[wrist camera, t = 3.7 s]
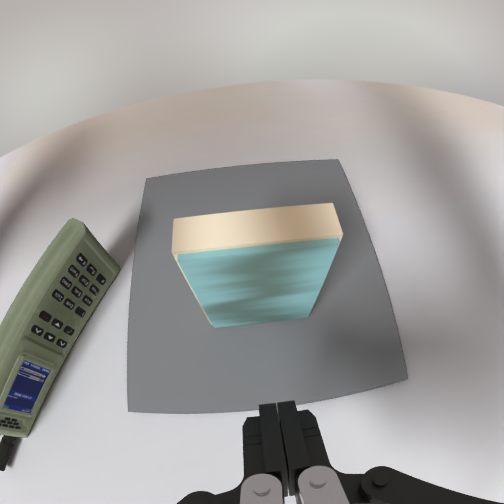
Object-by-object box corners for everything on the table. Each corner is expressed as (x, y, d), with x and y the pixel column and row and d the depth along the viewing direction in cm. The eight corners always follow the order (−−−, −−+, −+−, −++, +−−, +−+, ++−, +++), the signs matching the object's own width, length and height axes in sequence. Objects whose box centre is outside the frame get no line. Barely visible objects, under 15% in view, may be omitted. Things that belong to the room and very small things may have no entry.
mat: (131, 411, 17) (128, 411, 17) (148, 182, 28) (146, 178, 28) (404, 379, 17) (408, 378, 17) (337, 163, 29) (338, 159, 28)
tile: (211, 328, 20) (171, 258, 11) (210, 302, 21) (173, 218, 12) (310, 317, 20) (345, 240, 11) (305, 292, 21) (332, 203, 12)
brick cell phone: (127, 271, 23) (17, 480, 12) (103, 258, 24) (0, 456, 13) (89, 225, 18) (-33, 478, 6) (66, 213, 19) (-49, 449, 7)
